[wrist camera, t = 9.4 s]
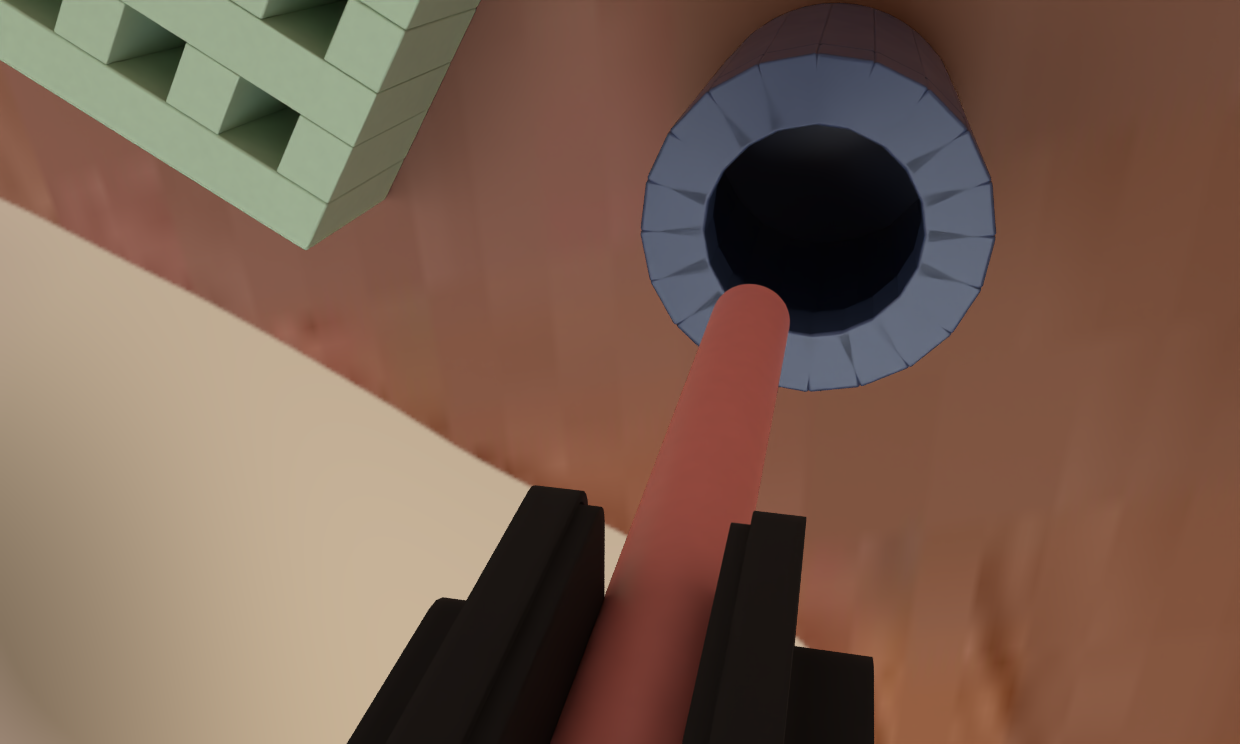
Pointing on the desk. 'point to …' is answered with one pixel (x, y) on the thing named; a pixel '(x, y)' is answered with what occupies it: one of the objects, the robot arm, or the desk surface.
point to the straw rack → (251, 90)
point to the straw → (682, 533)
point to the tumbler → (826, 195)
